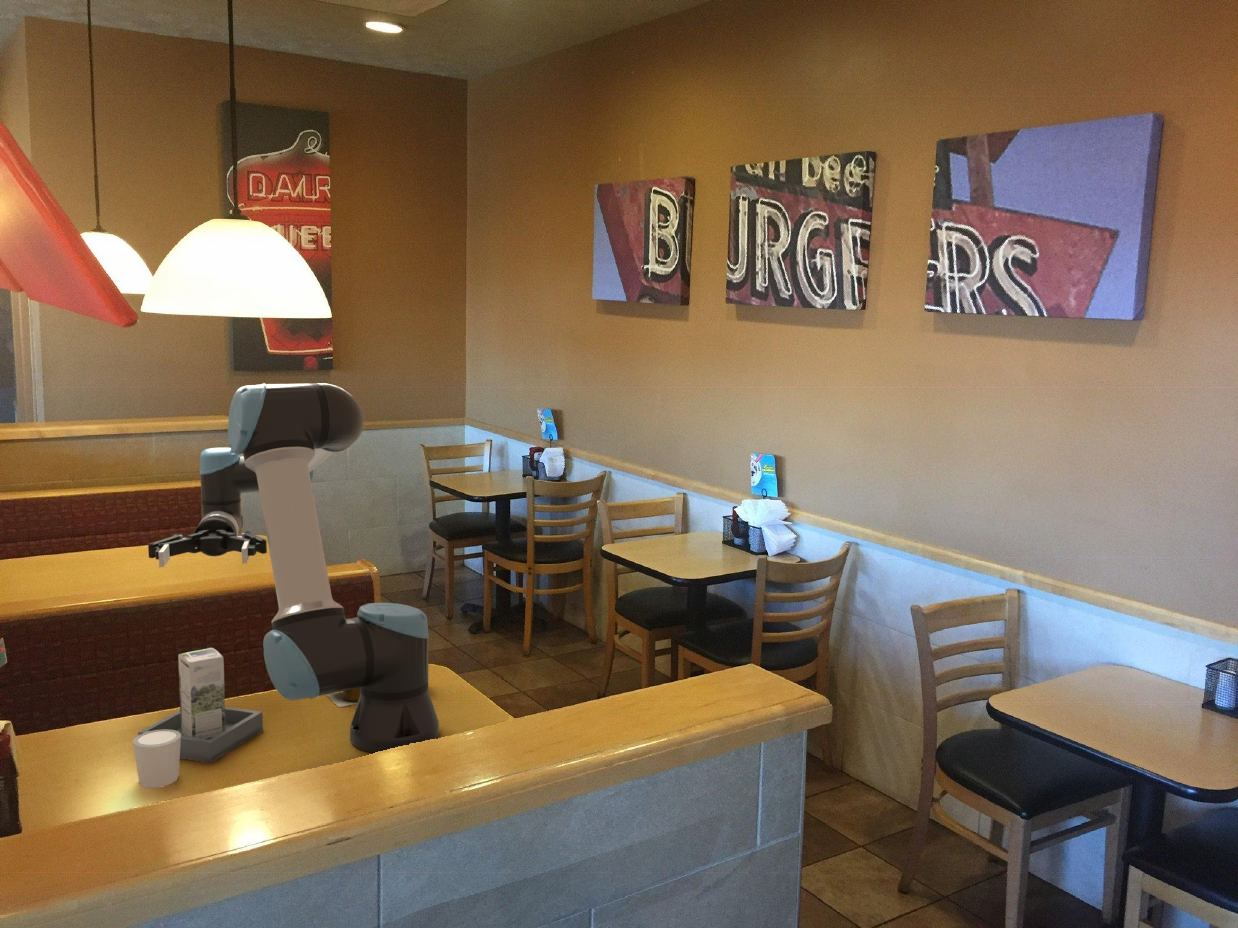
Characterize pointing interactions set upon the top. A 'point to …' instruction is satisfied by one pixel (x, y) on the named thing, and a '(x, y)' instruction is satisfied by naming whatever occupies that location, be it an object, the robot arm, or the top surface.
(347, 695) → the condiment
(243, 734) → the tray
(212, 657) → the syrup box
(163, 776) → the white cup
